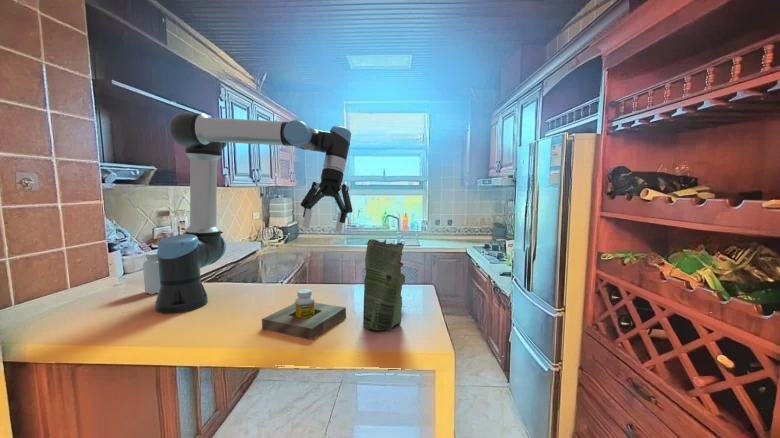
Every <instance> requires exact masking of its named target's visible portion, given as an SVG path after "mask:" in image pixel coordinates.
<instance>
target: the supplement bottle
mask: <svg viewBox="0 0 780 438" xmlns="http://www.w3.org/2000/svg"><path fill="white" fill-rule="evenodd" d="M296 293H297V295H296V296H297V298H296V299H295V302H294V303H295V305H296V317H300V318H305V319H309V318H311V317H312V316H314V315H315V309H314V303H315V298H314V297H313V296H312V290H311V289H309V288H305V289H299V290H298V291H297V292H296Z"/></svg>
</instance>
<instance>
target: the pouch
mask: <svg viewBox="0 0 780 438" xmlns="http://www.w3.org/2000/svg"><path fill="white" fill-rule="evenodd" d="M404 247H405V244H404V243H402V242H397V243H392V242H391V243H387V239H386V238H385V239H384V240H383V241H380V240H377V239H372V238H371V239H368V241H367V242H366V250H365V251H366V252H365V256H364V257H365V258H364V267H365V277H364V280H363V283H364V288H363V289H364V290H363V318H362V319H363V321H362V323H363V327H365V328H366V329H368V330H372V331H387V332H391V330H392V329H393V327H395V326H397V325H401V323H402V316H403V314H402V308H403V297H402V289H403V285H404V284H405V279H406V276H405V274H404V273H402V267H403V266H404V263H402V262H401V261H402V256H403V252H402V251H403V250H404Z"/></svg>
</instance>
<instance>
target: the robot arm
mask: <svg viewBox="0 0 780 438" xmlns="http://www.w3.org/2000/svg"><path fill="white" fill-rule="evenodd" d="M168 132H169V135H170V138H171V139H172V140H173V141H174V142H175V143H176V144H177V145H179V146H181V147H183V148H185V155H186V157H188V158H189V160H190V164H189V165H190V166H189V168H190V169H189V170H190V171H189V172H190V174H189V175H190V176H189V178H190V179H189V180H190V181H189V183H190V186H189V187H190V189H189V195H190V196H189V226H188V227H187V228H186V229H185V233H184V234H176V235H172V236H171V235H170V236H168V237H165V238H162V239H160V240H159V242H158V243H157V251H156V252H157V255H158V262H159V275H160V289H159V292H158V294H157V296H156V300H155V311H156V312H157V313H160V312H161V313H162V314H177V313H183V312H189V311H192V310H196V309H200V308H201V307H203V306H205V305H207V304H208V302H209V300H208V294H207V292H206V290H205V287H204V285H203V283H202V280H201V268H204V267H207V266H209V265H213V264H214V263H216V262H218V261H219V260H221V258H222V257H223V256H224V254H225V253H226V250H227V243H226V239H224V237H223V236H222V235H221V234H222V233H221V228H220V227H219V226H218V225H217V206H218V205H217V199H218V197H217V195H218V194H217V190H218V189H217V188H218V185H217V184H218V182H217V181H218V161H219V160H221V158H223V155H222V153H223V150H224V149H225V148H226V146H227V145H228V144H229V143H230V144H246V145H247V144H251V145H268V146H269V145H271V146H286V147H294V148H296V149H300V150H304V151H305V150H307V151H311V152H312V151H313V152H319V153H324V154H325V155H324V160H323V165H322V170H321V175H320V183H318V182H316V181H313V182H312V184H311V187H310V189H309V190H308V192H307V193H306V195H305V196H304V197H303V199H302V200H301V202H300V207H302V208H304V210H303V215H302V217H303V220H302V221H303V222H302V226H301V227H302V228H307V229H309V228H310V223H311V218H312V214H313V210H312V208H313V207H314V206H315V205H316V204H317V203H318V202H319V201H320V200H321V199H322V198H324V197H325V198H326V197H327V198H328V197H330V198H333V199H334V200H335V202H336V204H337V206H338V209H339V210H340V211H339V212H337V213H338V214H337V218H336V224H335V228H334V232H335V233H338V234H341V233H342V229H343V224H345V223H346V219H347V214H349V213H353V206H352V203H351V197H350V194H349V190H350V189H349V186H348V185H347V184H346V183H343V180H344V176H345V175H344V173H345V169H346V163H347V159H348V154H349V150H350V147H351V138H352V132H351V131H350V129H348V128H347V127H344V126H340V125H337V126H336V125H334V126H331V128H330V130H329V131H325V130H320V129H315V128H314V127H312V126H309V125H308V124H307V123H306V122H305V121H302V120H297V119H294V120H290V121H283V120H282V121H279V120H260V119H244V118H243V119H241V118H226V117H225V118H223V117H221V118H220V117H209V116H208V115H207V114H205V113H194V112H190V111H189V112H187V111H184V112H179V113H176V114H175V115H173V116H172V118H171V119H170V121H169V123H168ZM340 191H341V194H340ZM341 195H342V197H341ZM342 199H343V200H342Z"/></svg>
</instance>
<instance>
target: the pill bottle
mask: <svg viewBox="0 0 780 438" xmlns="http://www.w3.org/2000/svg"><path fill="white" fill-rule="evenodd" d="M145 258H146V260H145V261H144V262H143V264H142V269H143V271H142V272H143V282H144V283H143V284H144V292H145V294H147V293H149V294H148V295H156V294H155V293H158V292H159V289H160V275H159V262H158V255H157V251H153V252H148V253H146V254H145Z"/></svg>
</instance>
